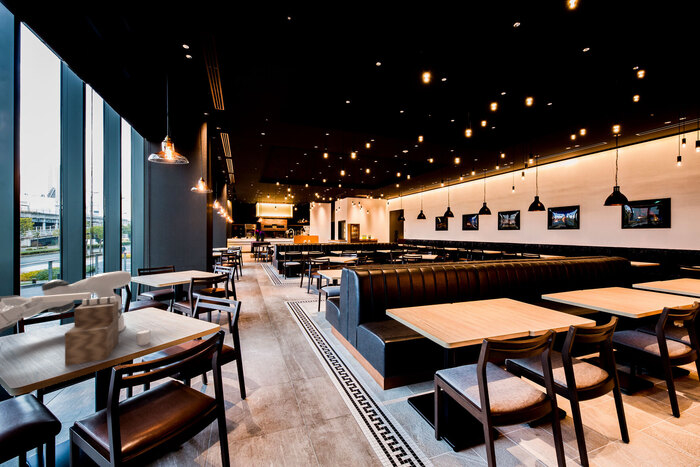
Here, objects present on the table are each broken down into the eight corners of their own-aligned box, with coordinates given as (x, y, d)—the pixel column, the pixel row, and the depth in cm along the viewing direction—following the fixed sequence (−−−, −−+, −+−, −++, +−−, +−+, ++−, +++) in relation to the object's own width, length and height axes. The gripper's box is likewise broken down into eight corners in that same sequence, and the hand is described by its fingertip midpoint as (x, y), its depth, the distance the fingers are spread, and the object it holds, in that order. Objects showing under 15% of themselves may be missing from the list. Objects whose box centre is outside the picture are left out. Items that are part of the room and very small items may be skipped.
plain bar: (31, 303, 143) (31, 297, 143) (34, 302, 146) (34, 296, 146) (88, 298, 153) (88, 293, 153) (90, 297, 156) (90, 292, 156)
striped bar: (81, 305, 157) (81, 300, 157) (84, 304, 159) (83, 298, 159) (114, 302, 163) (114, 297, 163) (115, 301, 166) (115, 296, 166)
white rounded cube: (141, 341, 170) (141, 329, 170) (153, 340, 171) (153, 329, 171) (133, 345, 164) (133, 333, 163) (145, 345, 164) (145, 333, 164)
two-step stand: (65, 365, 139) (64, 315, 139) (82, 347, 160) (82, 303, 160) (106, 359, 147) (106, 311, 146) (118, 342, 168) (118, 300, 168)
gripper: (25, 314, 151) (56, 298, 156) (2, 325, 133) (37, 308, 138) (17, 304, 149) (48, 289, 155) (-8, 315, 131) (28, 297, 137)
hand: (43, 298), depth 146 cm, fingers closed on plain bar, 3 cm apart
